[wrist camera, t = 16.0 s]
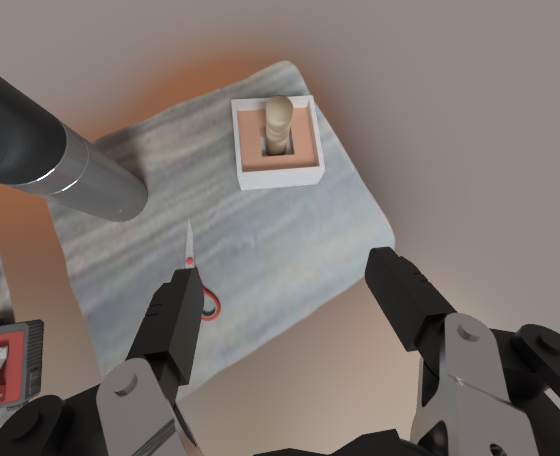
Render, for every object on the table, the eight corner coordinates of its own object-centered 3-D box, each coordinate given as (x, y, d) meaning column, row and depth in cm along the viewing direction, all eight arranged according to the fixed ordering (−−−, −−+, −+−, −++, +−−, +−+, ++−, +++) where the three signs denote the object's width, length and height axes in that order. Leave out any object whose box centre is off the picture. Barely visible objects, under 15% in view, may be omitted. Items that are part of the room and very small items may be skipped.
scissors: (193, 209, 42) (190, 207, 41) (225, 319, 39) (223, 321, 37) (152, 221, 41) (148, 220, 40) (181, 335, 38) (178, 338, 36)
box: (241, 190, 43) (237, 177, 37) (235, 121, 46) (231, 99, 40) (317, 183, 44) (325, 170, 38) (306, 117, 47) (312, 95, 41)
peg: (267, 160, 44) (268, 121, 32) (264, 141, 44) (263, 96, 32) (287, 158, 44) (295, 118, 32) (284, 139, 45) (290, 94, 33)
